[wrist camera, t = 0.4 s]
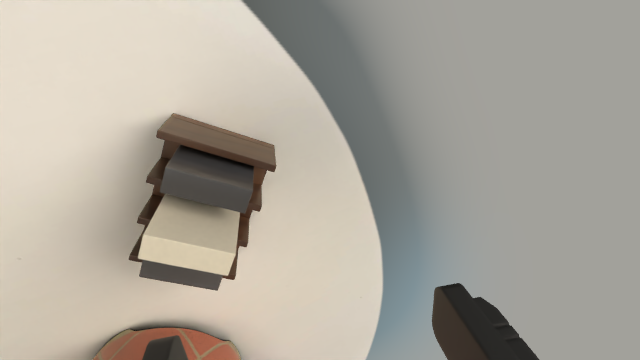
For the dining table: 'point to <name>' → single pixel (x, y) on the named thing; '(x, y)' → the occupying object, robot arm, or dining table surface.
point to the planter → (202, 349)
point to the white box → (191, 236)
